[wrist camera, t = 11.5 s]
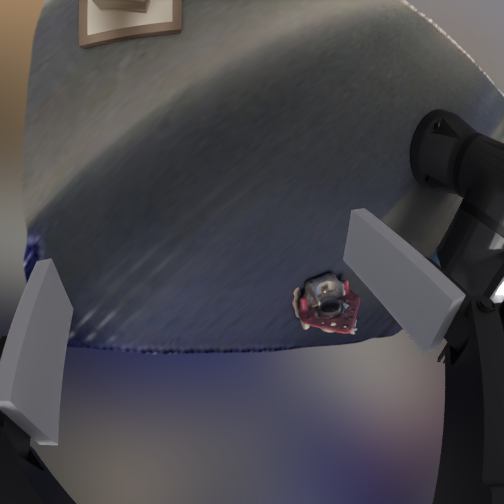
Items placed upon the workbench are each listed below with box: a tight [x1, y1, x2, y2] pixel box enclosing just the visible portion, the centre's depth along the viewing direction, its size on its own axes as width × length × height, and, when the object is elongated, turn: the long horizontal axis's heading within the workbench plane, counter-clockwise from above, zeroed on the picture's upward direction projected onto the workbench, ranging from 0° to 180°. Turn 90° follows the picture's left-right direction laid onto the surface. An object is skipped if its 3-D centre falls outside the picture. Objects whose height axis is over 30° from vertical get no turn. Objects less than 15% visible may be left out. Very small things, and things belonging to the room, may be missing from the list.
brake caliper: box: [293, 273, 360, 334], centre depth 53 cm, size 11×11×12 cm
